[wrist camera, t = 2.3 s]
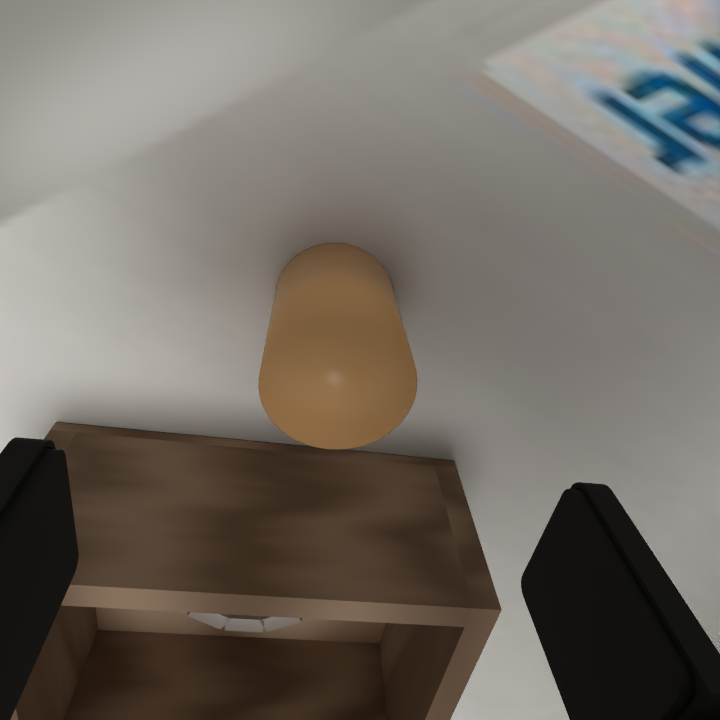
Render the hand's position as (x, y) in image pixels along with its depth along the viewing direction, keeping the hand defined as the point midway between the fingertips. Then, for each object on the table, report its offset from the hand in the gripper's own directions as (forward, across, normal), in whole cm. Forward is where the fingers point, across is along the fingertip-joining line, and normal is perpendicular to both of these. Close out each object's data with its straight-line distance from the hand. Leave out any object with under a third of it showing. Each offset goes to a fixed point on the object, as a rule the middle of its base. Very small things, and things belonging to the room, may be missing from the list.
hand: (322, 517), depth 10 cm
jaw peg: (+11, -1, 0) cm, 11 cm away
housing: (+11, +1, +14) cm, 18 cm away
